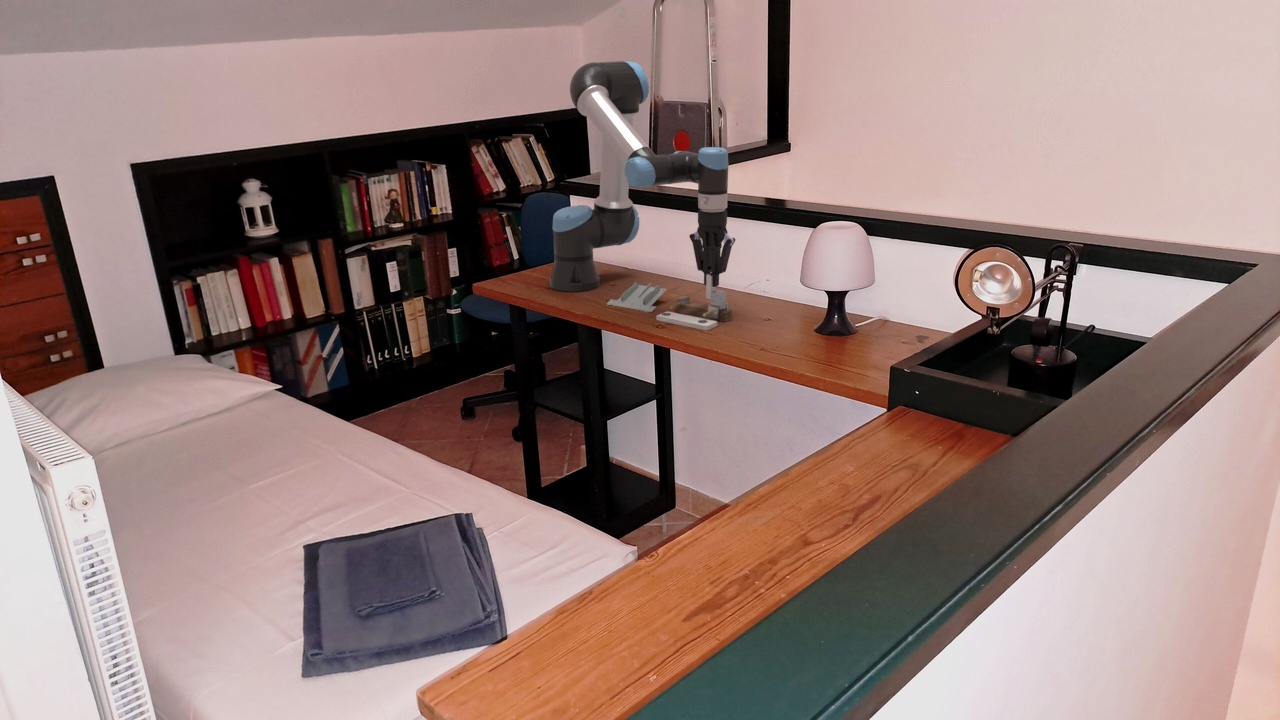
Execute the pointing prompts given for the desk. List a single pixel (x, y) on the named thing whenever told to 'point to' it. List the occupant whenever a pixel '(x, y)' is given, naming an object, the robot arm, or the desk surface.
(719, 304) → the slider
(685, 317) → the hole plate
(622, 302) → the metal bracket
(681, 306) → the brown fixture base
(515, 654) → the desk surface
